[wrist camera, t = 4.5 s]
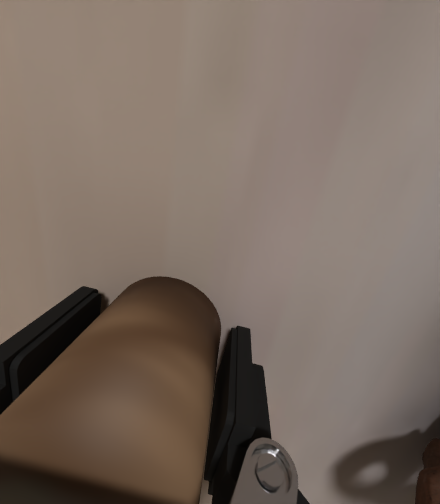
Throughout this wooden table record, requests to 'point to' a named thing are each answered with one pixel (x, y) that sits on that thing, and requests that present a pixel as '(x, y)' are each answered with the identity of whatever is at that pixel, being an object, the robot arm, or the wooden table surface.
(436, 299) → the wooden table surface
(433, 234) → the wooden table surface
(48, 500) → the dowel
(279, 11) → the wooden table surface
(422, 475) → the pottery mug
